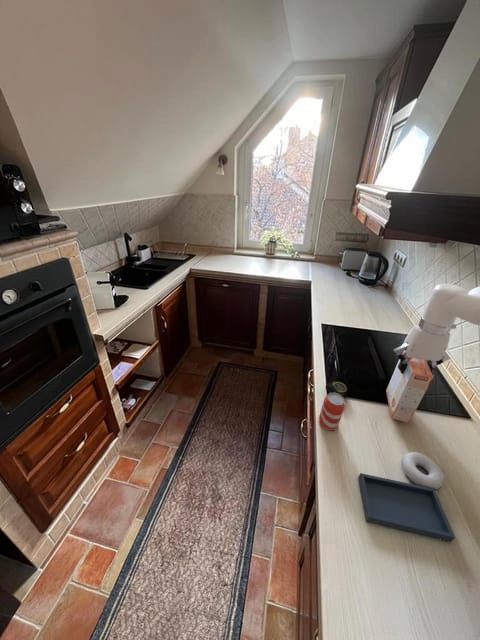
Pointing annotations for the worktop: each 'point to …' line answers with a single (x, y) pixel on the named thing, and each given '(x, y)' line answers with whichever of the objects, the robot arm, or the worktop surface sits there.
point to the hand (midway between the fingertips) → (412, 372)
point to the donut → (434, 472)
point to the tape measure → (337, 388)
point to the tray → (404, 507)
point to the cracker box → (408, 389)
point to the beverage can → (331, 411)
